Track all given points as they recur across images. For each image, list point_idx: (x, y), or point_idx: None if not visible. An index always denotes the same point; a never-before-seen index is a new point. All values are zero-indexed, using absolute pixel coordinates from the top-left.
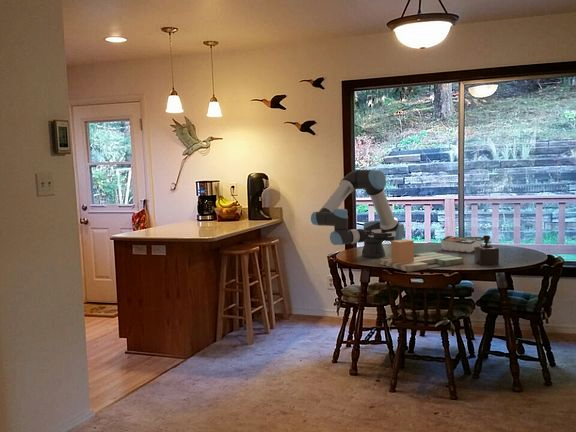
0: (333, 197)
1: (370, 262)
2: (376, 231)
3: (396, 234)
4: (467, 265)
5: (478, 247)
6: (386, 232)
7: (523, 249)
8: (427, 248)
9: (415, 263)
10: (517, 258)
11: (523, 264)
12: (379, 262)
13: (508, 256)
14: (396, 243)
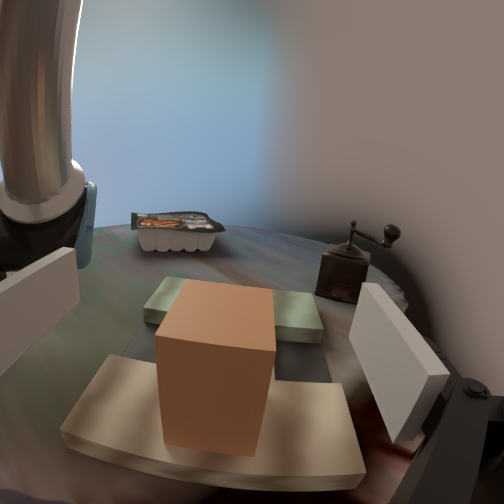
0: None
1: (10, 426)
2: (35, 298)
3: (84, 241)
4: (343, 317)
5: (340, 255)
6: (444, 368)
7: (259, 230)
8: (98, 250)
9: (312, 412)
10: (321, 258)
11: (378, 276)
12: (71, 443)
13: (296, 254)
14: (232, 357)
